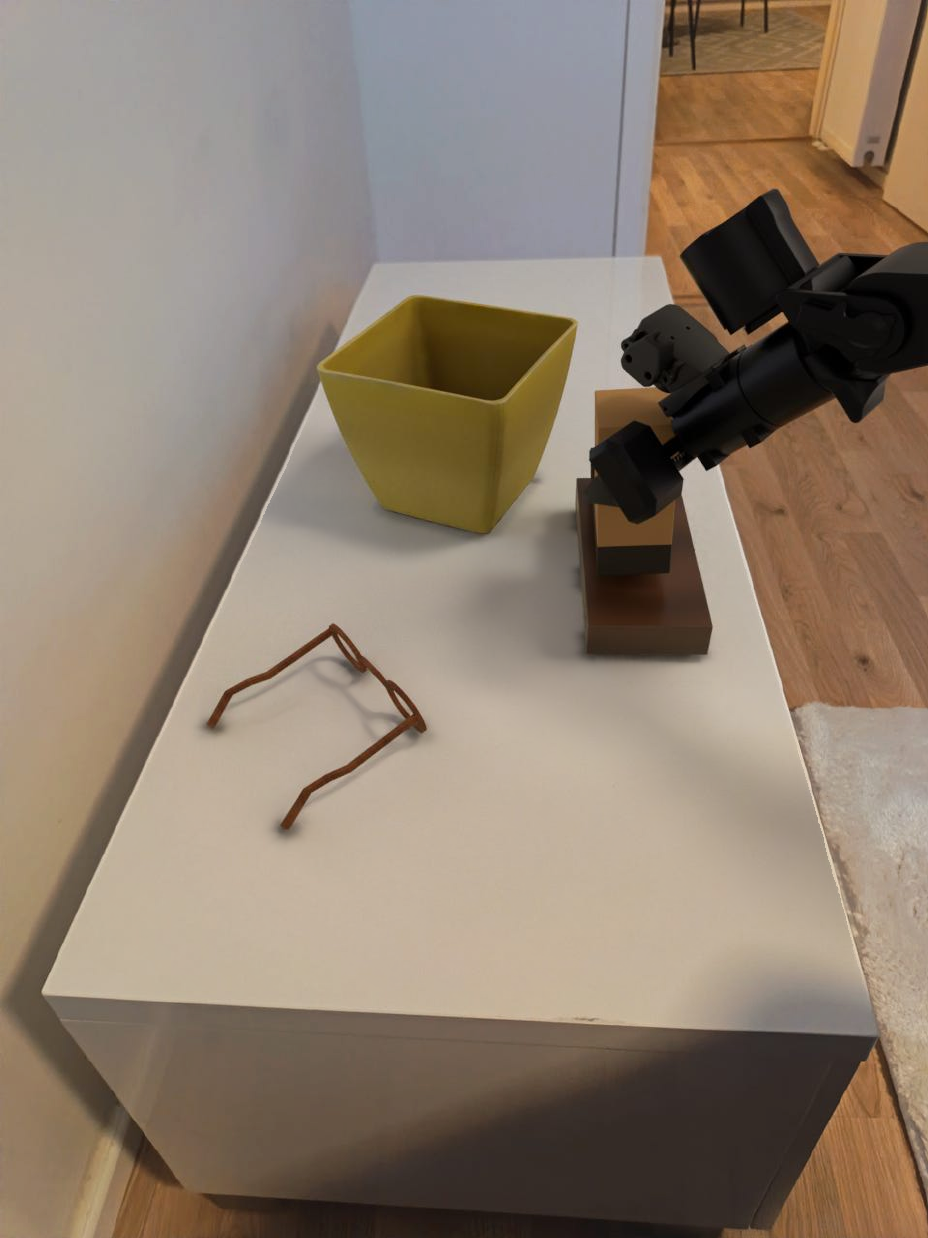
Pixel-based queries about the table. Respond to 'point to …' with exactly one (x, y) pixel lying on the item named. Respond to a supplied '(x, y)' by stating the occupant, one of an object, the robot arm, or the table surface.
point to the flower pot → (450, 405)
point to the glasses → (361, 667)
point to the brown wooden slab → (643, 596)
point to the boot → (614, 535)
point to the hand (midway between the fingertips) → (619, 473)
